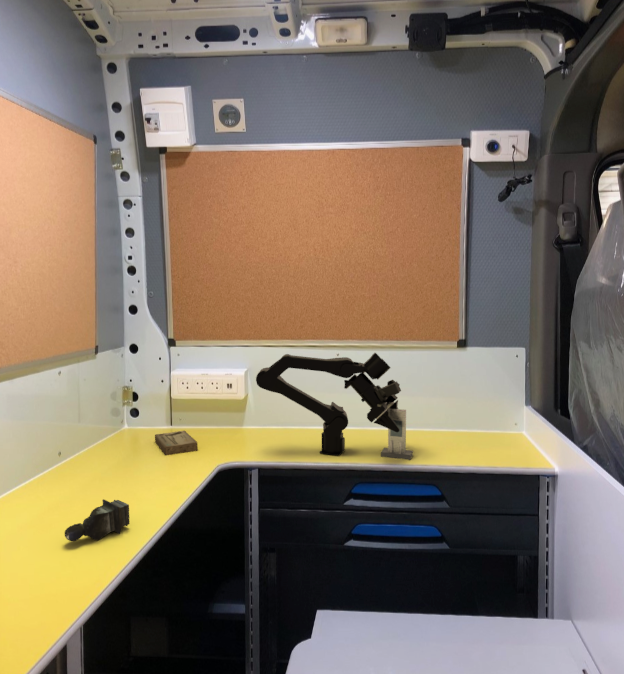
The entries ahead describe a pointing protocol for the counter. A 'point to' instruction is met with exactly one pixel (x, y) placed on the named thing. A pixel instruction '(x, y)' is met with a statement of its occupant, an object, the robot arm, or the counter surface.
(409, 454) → the dark grey pegged block
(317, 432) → the counter surface
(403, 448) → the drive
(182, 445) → the box
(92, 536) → the dark statue fragment
